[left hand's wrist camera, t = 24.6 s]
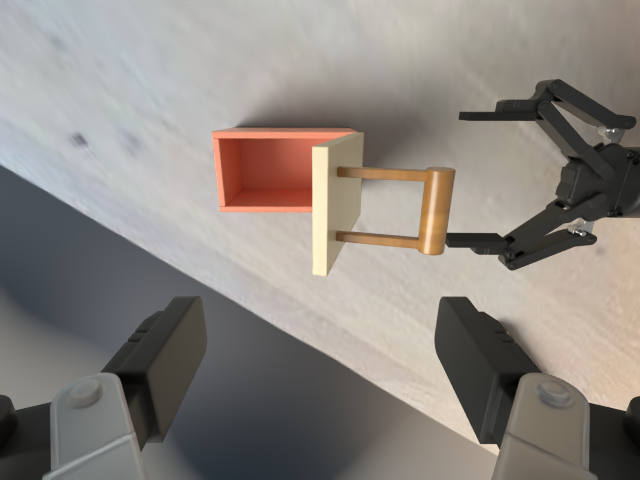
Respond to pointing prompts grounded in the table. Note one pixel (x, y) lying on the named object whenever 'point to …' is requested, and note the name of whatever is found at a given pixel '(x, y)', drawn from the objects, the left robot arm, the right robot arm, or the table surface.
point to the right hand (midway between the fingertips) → (453, 182)
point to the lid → (345, 201)
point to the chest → (267, 167)
